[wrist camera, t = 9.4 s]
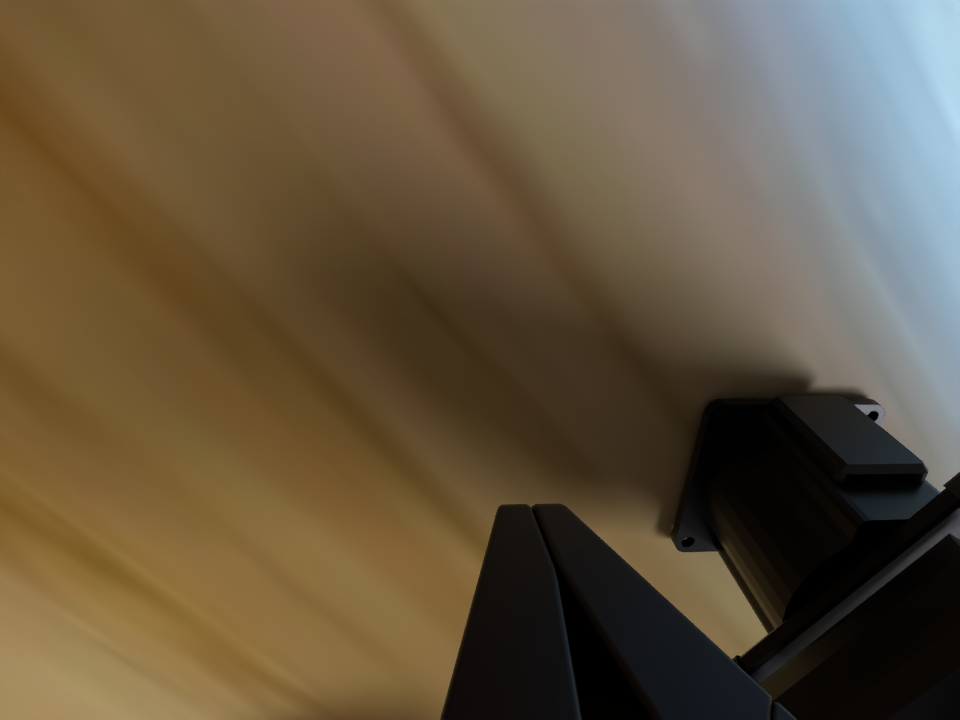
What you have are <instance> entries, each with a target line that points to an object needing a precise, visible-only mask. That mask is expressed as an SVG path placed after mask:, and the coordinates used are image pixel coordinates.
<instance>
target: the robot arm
mask: <svg viewBox="0 0 960 720" xmlns="http://www.w3.org/2000/svg"><path fill="white" fill-rule="evenodd" d="M722 411H725V412H724V414H723V415H722V416H720V417H717V418H716V416H717V415H718V414H719V413H720V412H722ZM869 412H870V413H869ZM868 413H869V415H867V414H868ZM885 413H886V412H885V409H884V408H883V407H882V406H881V405H880V404H878V403H877V402H876V401H874V400H872V399H847V398H845V397H844V396H776V397H774V398H771V399H716V400H714V401H712V402H710V403H709V404H708V405H707V406H706V408H705V410H704V414H703V417H702V421H701V425H700V429H699V433H698V436H697V440H696V444H695V448H694V452H693V455H692V459H691V463H690V467H689V471H688V474H687V478H686V482H685V486H684V489H683V493H682V497H681V501H680V505H679V508H678V512H677V516H676V520H675V524H674V527H673V531H672V535H671V539H672V541H673V543H674V545H675V546H676V548H677V550H679V551H681V552H706V551H718V553H719V554H720V556H721V558H722V559H723V561H724V563H725V564H726V566H727V568H728V569H729V571H730V572H731V574H732V576H733V577H734V579H735V581H736V582H737V584H738V586H739V587H740V589H741V590H742V592H743V594H744V595H745V597H746V599H747V600H748V602H749V603H750V605H751V607H752V608H753V610H754V612H755V613H756V615H757V617H758V618H759V620H760V621H761V623H762V625H763V626H764V628H765V630H766V631H767V633H768V635H766V636H765V637H764V638H763V639H762V640H760V641H759V642H758V643H757V644H756V645H754V646H753V647H752V648H751V649H749V650H748V651H747V652H746V653H745V654H743V655H742V656H738V655H737V656H736V657H734V658H733V659H731V658H730V657H729V656H727V655H726V654H725V653H724V652H723V651H722V650H721V649H720V648H719V647H718V646H717V645H716V644H714V643H713V642H712V641H711V640H710V639H709V638H708V637H707V636H706V635H705V634H704V633H703V632H701V631H700V630H699V629H698V628H697V627H696V626H695V625H694V624H693V623H692V622H691V621H690V620H688V619H687V618H686V617H685V616H684V615H683V614H682V613H681V612H680V611H679V610H678V609H677V608H675V607H674V606H673V605H672V604H671V603H670V602H669V601H668V600H667V599H666V598H665V597H664V596H662V595H661V594H660V593H659V592H658V591H657V590H656V589H655V588H654V587H653V586H652V585H651V584H650V583H648V582H647V581H646V580H645V579H644V578H643V577H642V576H641V575H640V574H639V573H638V572H637V571H635V570H634V569H633V568H632V567H631V566H630V565H629V564H628V563H627V562H626V561H625V560H624V559H622V558H621V557H620V556H619V555H618V554H617V553H616V552H615V551H614V550H613V549H612V548H611V547H609V546H608V545H607V544H606V543H605V542H604V541H603V540H602V539H601V538H600V537H599V536H598V535H596V534H595V533H594V532H593V531H592V530H591V529H590V528H589V527H588V526H587V525H586V524H585V523H583V522H582V521H581V520H580V519H579V518H578V517H577V516H576V515H575V514H574V513H573V512H572V511H571V510H569V509H568V508H567V507H566V506H564V505H563V504H535V505H533V506H532V507H530V506H528V505H526V504H508V505H501V506H499V507H498V510H497V513H496V516H495V520H494V524H493V527H492V531H491V535H490V538H489V542H488V546H487V549H486V553H485V557H484V560H483V564H482V568H481V571H480V575H479V579H478V582H477V586H476V590H475V593H474V597H473V601H472V604H471V608H470V612H469V615H468V619H467V623H466V626H465V630H464V634H463V637H462V641H461V645H460V648H459V652H458V656H457V659H456V663H455V667H454V670H453V674H452V678H451V681H450V685H449V689H448V692H447V696H446V700H445V703H444V707H443V711H442V714H441V718H440V720H960V472H959V473H958V474H957V475H955V476H954V477H953V478H952V479H951V480H949V481H948V482H947V483H946V484H944V485H943V486H944V487H946V489H944V490H943V491H942V492H941V493H940V492H939V491H938V490H937V489H936V488H935V487H933V486H932V485H931V484H930V483H929V482H928V481H926V480H925V478H926V476H927V474H928V471H929V470H928V468H927V467H926V466H925V464H924V463H923V461H921V460H920V459H919V458H918V457H917V456H915V455H914V454H913V453H912V452H911V451H909V450H908V449H907V448H906V447H905V446H903V445H902V444H901V443H900V442H899V441H897V440H896V439H895V438H894V437H893V436H891V435H890V434H889V433H888V432H886V431H885V430H884V429H883V428H882V427H881V425H882V422H883V420H884V417H885ZM686 537H688V538H687V539H685V538H686ZM683 539H684V540H683Z"/></svg>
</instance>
